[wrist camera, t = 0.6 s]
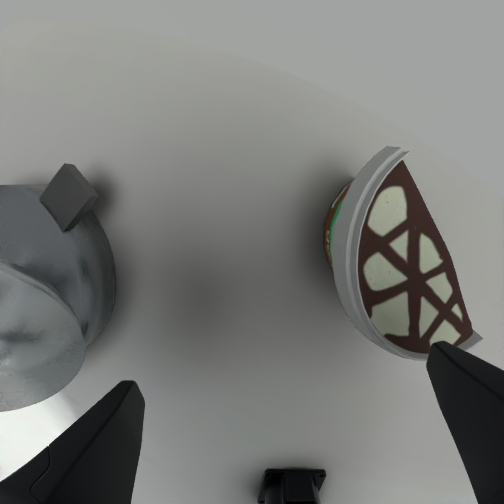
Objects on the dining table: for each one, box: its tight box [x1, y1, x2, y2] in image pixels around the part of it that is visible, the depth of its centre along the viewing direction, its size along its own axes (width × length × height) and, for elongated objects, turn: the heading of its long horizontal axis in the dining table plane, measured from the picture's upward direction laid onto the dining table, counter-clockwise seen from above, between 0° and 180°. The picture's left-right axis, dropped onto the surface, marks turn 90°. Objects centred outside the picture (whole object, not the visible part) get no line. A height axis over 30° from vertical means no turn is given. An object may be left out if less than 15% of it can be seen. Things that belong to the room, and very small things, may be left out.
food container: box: [323, 146, 483, 361], centre depth 18 cm, size 12×6×10 cm, turn 33°
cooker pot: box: [0, 163, 116, 348], centre depth 21 cm, size 15×21×6 cm
